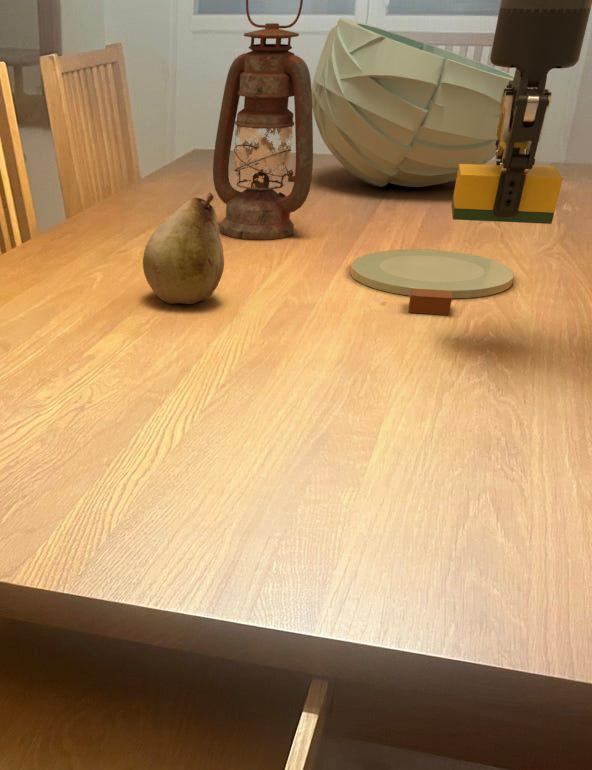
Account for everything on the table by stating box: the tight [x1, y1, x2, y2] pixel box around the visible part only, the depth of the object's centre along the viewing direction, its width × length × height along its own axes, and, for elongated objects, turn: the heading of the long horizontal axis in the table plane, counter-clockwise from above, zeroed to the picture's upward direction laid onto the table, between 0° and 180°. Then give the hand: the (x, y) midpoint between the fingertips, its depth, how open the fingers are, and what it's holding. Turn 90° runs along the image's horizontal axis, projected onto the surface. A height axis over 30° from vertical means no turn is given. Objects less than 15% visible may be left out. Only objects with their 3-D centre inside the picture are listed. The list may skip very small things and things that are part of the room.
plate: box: [350, 248, 515, 300], centre depth 123 cm, size 20×20×1 cm
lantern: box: [212, 0, 314, 241], centre depth 134 cm, size 11×16×35 cm
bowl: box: [311, 17, 515, 188], centre depth 167 cm, size 35×35×22 cm
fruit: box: [142, 192, 225, 305], centre depth 112 cm, size 10×9×12 cm
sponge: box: [451, 164, 564, 225], centre depth 93 cm, size 9×6×4 cm, turn 75°
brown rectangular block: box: [407, 288, 453, 316], centre depth 111 cm, size 4×3×2 cm, turn 75°
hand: (502, 208), depth 94 cm, fingers closed on sponge, 6 cm apart
